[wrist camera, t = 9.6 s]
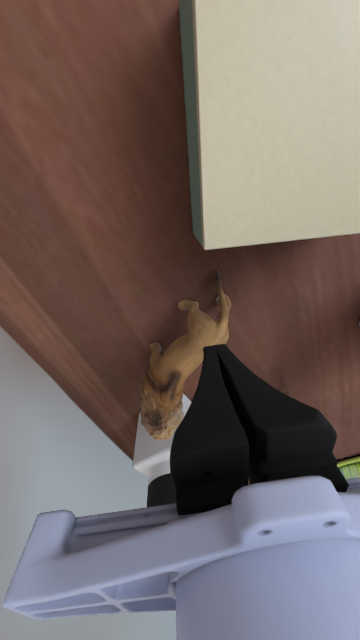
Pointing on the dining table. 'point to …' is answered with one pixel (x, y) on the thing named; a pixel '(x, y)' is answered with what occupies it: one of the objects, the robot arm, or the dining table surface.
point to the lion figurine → (179, 365)
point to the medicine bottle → (156, 463)
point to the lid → (277, 119)
